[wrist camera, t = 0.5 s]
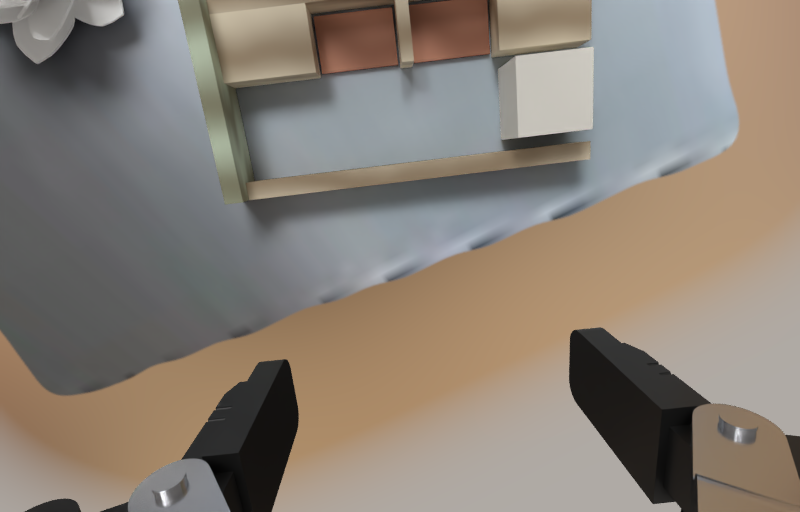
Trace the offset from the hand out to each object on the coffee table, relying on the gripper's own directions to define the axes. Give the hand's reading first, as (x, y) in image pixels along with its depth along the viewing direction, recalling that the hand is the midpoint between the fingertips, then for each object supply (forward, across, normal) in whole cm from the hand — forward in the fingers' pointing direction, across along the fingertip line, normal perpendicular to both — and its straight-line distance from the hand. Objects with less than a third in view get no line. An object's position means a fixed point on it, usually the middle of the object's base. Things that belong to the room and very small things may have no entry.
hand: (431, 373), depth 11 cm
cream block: (+28, -13, -9) cm, 32 cm away
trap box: (+27, -1, -9) cm, 29 cm away
